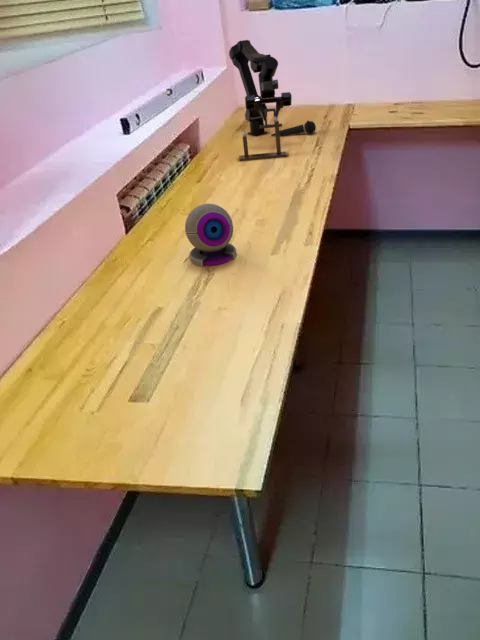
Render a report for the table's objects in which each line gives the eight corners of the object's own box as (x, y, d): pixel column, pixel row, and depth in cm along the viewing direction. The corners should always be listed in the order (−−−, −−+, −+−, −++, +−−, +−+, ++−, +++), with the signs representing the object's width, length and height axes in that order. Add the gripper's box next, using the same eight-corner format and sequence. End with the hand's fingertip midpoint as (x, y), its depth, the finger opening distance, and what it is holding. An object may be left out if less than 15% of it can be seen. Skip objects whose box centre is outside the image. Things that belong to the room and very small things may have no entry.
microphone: (272, 144, 274) (317, 135, 272) (270, 132, 270) (315, 123, 268) (272, 137, 277) (315, 128, 276) (269, 126, 273) (314, 116, 271)
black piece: (259, 127, 253) (258, 109, 249) (281, 125, 253) (280, 107, 249) (260, 128, 252) (258, 110, 248) (282, 126, 252) (280, 108, 248)
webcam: (197, 270, 166) (188, 217, 157) (184, 253, 176) (176, 202, 167) (242, 260, 170) (236, 207, 161) (228, 243, 180) (221, 193, 171)
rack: (238, 155, 253) (235, 119, 245) (285, 151, 254) (282, 115, 246) (239, 161, 246) (235, 124, 238) (287, 156, 247) (284, 120, 239)
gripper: (242, 74, 244) (246, 109, 241) (289, 70, 245) (294, 105, 242) (244, 91, 255) (247, 125, 252) (288, 87, 256) (293, 121, 253)
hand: (270, 119), depth 250 cm, fingers closed on black piece, 4 cm apart
